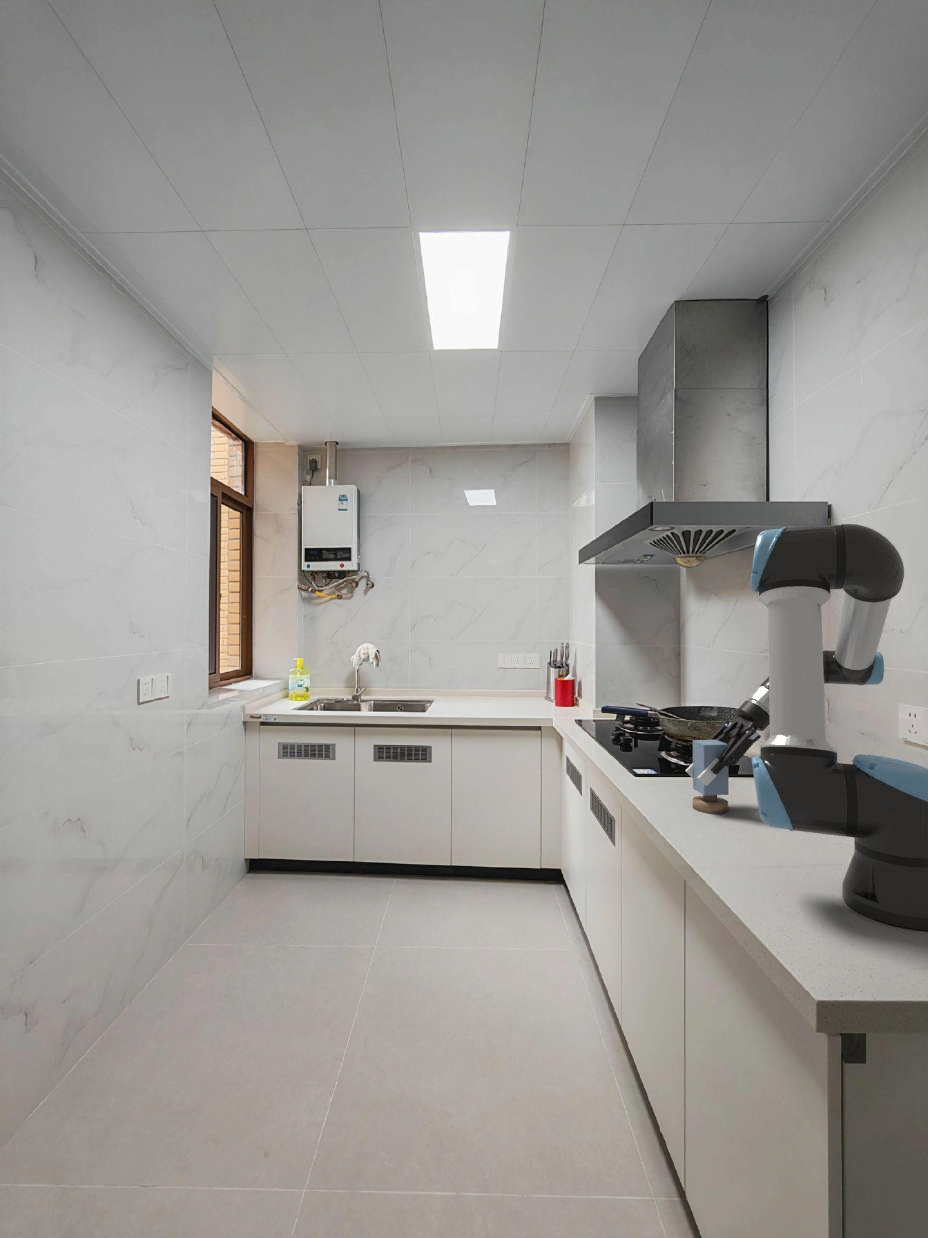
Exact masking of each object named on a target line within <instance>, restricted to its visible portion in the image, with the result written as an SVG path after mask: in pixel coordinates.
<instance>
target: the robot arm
mask: <svg viewBox="0 0 928 1238" xmlns="http://www.w3.org/2000/svg"><path fill="white" fill-rule="evenodd" d="M753 551H754V552H753V560H752V565H751V566H752V567H751V576H750V590H751V591H752V592H754V593H758V600H759V602H761V603H762V605H764V606H765V607H766V608H767V616H768V617H767V623H768V624H767V625H768V626H767V627H768V629H767V630H768V632H767V633H768V676H767V678H766V679H765V680H764V681H763V682H762V683H761V684H760V685H759V686H757V687H756V689H754V691H753V692H752V693H751V694H750V695H748V699H747V700H745V701H744V702H743V703H741V705H740V706H739V707H738V708H737V710H736V711H737V714H738V717H736V718H735V719H734V720H733V721H732V722H731V721H730V720H728V719H726V720H725V721H724V722H723V723H722V725H721V726H720V727H719V728H718V729H717V730H716V731H714V733H713V734H712V735H711V736H709V738H708V739H707V740H718V741H721V742H723V743H726V744H728V746H727V747H726V749H725V750H724V751H723V752H722V754H721V755H717V758H718V759H719V760H718V759H717V758H715V759H714V760H713V761H712V763H711V764H710V765H709V766H708V767H707V768H706V769H705V770H704V771H703V772H702V773H701V774H700V775H699V776H698V777H697V778H698V779H699V780H700V781H701V782H702V783H703V784H704V785H706V786H707V785H708V784H709V783H710V782H711V781H712V780H713V779H714V778H715V777H716V776H717V775H718V774H719V772H720V771H721V770H722V769H723V768H724V767H725V766H728V767H729V766H731V767H733V766H736V764H737V763H738V762H739V761H740V760H741V758H743V756H744V755H745V754H746V753H747V751H748V750H749V749H750V748H751V747H752V746H753V745H754V743H756V742H757V741H758V740H760V738H761V737H762V735H761V734H760V733H758V731H759V732H763V731H765V730H766V729H767V727H769V737H768V739H767V740H766V741H765V742H763V743H762V744H761V745H760V755H755V756H752V757H751V763H752V772H753V778H754V779H753V780H754V787H755V792H756V800H757V808H758V812H759V813H758V814H759V817H760V820H761V821H762V823H764V824H765V825H766V826H768V827H772V828H777V829H783V830H789V831H790V832H795V831H797V832H804V833H812V834H822V835H829V836H838V837H846V838H854V852H853V854H852V858H851V860H850V862H849V865H848V868H847V870H846V872H845V876H844V878H843V880H842V886H841V887H842V888H841V889H842V890H841V892H842V894H841V895H842V900H843V901H844V903H845V904H846V905H847V906H848V907H850V908H851V909H853V910H854V911H856V912H858V913H860V914H861V915H864V916H866V917H868V918H870V919H873V920H876V921H879V922H882V923H886V924H889V925H893V926H897V927H901V928H906V929H912V930H922V931H928V768H927V767H925V766H922V765H919V764H916V763H913V762H909V761H905V760H901V759H898V758H892V757H887V756H880V755H875V754H874V755H873V754H856V755H855V756H854V757H853V759H852V763H842V762H841V763H840V762H838V752H837V749H835V748H834V747H833V745H831V744H830V743H829V742H828V741H827V730H826V727H827V726H826V705H825V704H826V702H825V701H826V699H825V684H833V685H852V686H853V685H857V686H867V685H868V686H869V685H873V686H874V685H880V684H881V683H882V682H883V680H884V673H885V663H884V662H885V661H884V656H883V654H882V653H881V652H880V651H878V648H879V644H880V640H881V637H882V635H883V630H884V626H885V623H886V619H887V616H888V612H889V608H890V604H891V601H892V599H894V598H895V597H896V596H897V595H898V594H899V593H900V592H901V590H902V586H903V584H904V579H905V565H904V562H903V559H902V557H901V555H900V553H899V550H898V549H897V548H896V546H895V545H894V544H893V543H892V542H891V540H889V539H888V538H887V537H886V536H884V535H883V534H882V533H880V532H878V531H876V530H875V529H873V528H870V527H868V526H864V525H862V524H861V525H860V524H856V523H854V524H853V523H843V524H842V523H841V524H834V525H832V524H831V525H817V526H815V525H814V526H813V525H812V526H798V527H796V526H795V527H794V526H793V527H786V526H783V527H782V528H773V529H766V530H763V531H761V532H760V533H759V534H758V535H757V537H756V542H755V545H754V550H753ZM831 590H843V592H844V596H843V597H844V598H843V602H842V603H843V604H842V609H841V615H840V619H839V625H838V633H837V637H836V643H835V647H834V648H835V649H834V650H824V648H823V622H822V621H823V620H822V619H823V618H822V607H823V605H825V604H826V603H827V602H828V601H829V600H830V599H831V596H832V595H831ZM685 772H686V773H687V774H688V775H689V776H690V777H691V778H692V779H693V762H692V763H691V764H690V765H689V767H687V768H686V769H685Z"/></svg>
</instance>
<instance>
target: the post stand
mask: <svg viewBox="0 0 928 1238" xmlns="http://www.w3.org/2000/svg"><path fill="white" fill-rule="evenodd" d="M692 808H693V810H696V811H697V812H701V813H706V814H714V815H716V814H717V815H719V814H726V813H728V812H729V801H728V800H727V799H724V798H722V797H719V796H718V795H703V794H702V795H696V796H693V798H692Z"/></svg>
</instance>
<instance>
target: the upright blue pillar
mask: <svg viewBox="0 0 928 1238" xmlns="http://www.w3.org/2000/svg"><path fill="white" fill-rule="evenodd" d="M727 746H728V744H726V743H723V742H721V741H718V740H708V739H693V740H692V763H693V778H692V789H693V790H695V792H698V793H699V794H701V795H702V796H703V795H717V796H724V795H725V796H727V795H730V794H729V791H730V790H729V787H730V786H729V766H725V767H724V768H723V769H722V770H721V771H720V772H719V774H718V775H717V776H716V777H715V778H714V779H713V780H712V781H711V782H710V783H709V784H708V785H707V786H706V785H704V784H703V783H702V782H701V781H700V780H699V779H698V778H697V777H698V776H699V775H700V774H701V773H702V772H703V771H704V770H705V769H706V768H707V767H708V766H709V765H710V764H711V763H712V761H713V760H714V759H715V758H717V755H721V754H722V752H723V751H724V750H725V749H726V747H727ZM717 759H718V758H717ZM718 760H719V759H718Z"/></svg>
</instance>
